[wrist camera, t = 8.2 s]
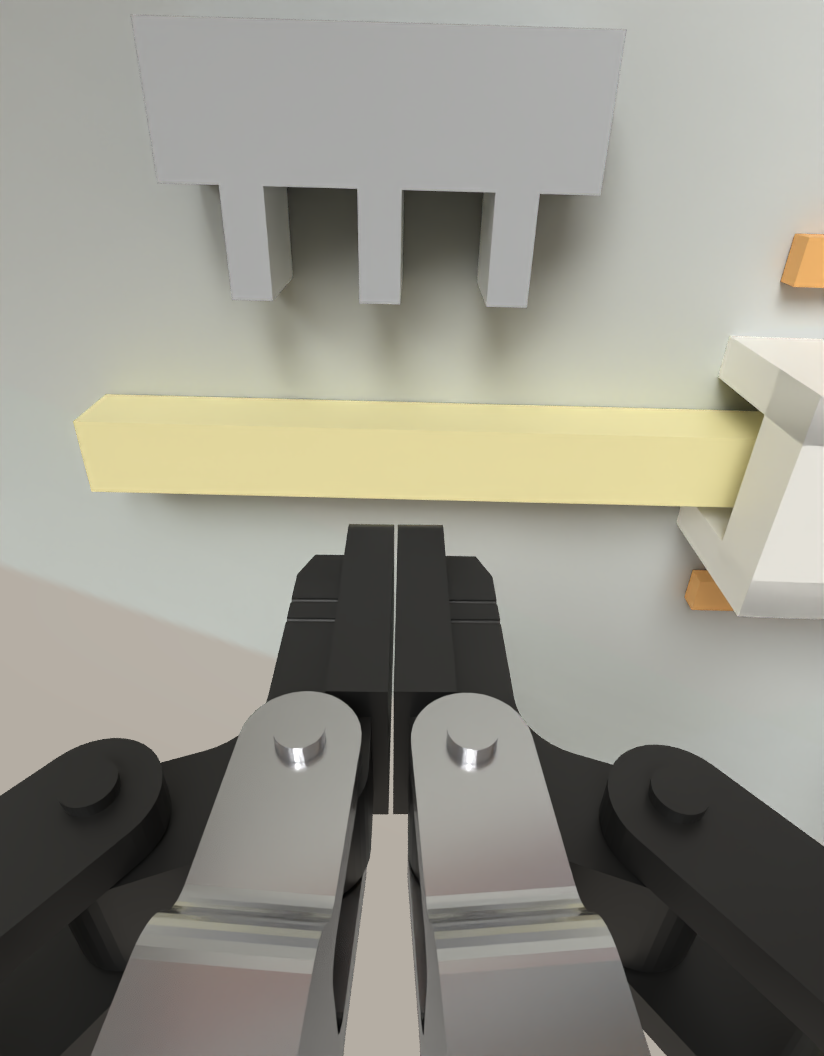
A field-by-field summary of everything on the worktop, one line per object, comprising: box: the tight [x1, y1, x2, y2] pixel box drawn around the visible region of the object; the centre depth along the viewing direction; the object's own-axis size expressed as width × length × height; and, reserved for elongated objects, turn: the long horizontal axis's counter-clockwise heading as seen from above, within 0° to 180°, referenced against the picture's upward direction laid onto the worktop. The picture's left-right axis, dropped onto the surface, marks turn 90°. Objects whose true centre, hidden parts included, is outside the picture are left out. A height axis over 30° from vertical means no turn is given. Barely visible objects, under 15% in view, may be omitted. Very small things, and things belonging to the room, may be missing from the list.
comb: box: [131, 15, 627, 308], centre depth 13 cm, size 4×8×2 cm, turn 89°
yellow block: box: [73, 394, 764, 508], centre depth 16 cm, size 2×22×2 cm, turn 89°
